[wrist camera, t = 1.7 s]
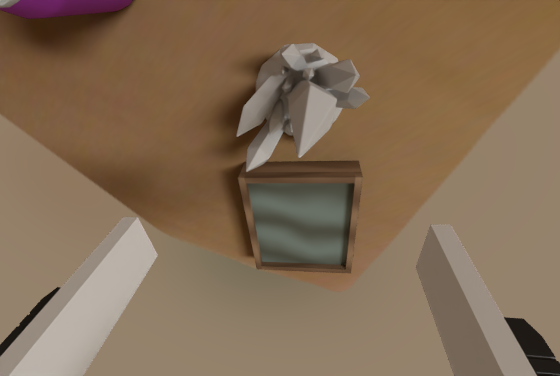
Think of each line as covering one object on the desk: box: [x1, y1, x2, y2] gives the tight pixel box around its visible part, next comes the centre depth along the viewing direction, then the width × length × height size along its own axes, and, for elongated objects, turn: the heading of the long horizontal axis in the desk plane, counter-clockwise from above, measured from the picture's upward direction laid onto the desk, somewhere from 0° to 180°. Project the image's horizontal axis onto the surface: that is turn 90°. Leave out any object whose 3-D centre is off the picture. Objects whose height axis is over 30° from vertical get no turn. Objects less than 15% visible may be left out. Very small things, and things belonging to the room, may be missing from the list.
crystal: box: [236, 43, 369, 172], centre depth 23 cm, size 10×13×15 cm
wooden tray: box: [238, 161, 363, 273], centre depth 38 cm, size 18×15×4 cm
